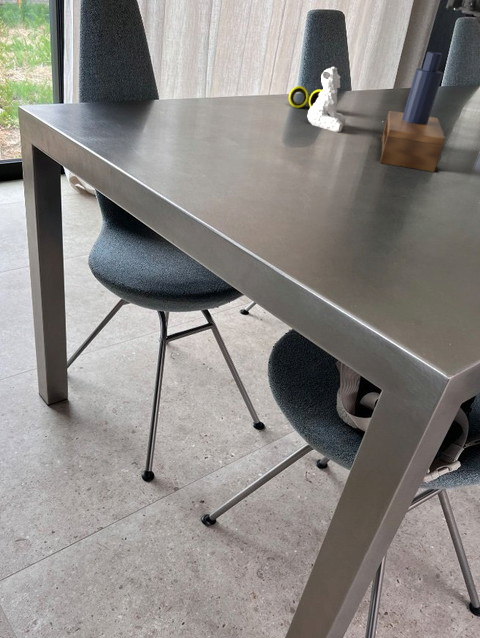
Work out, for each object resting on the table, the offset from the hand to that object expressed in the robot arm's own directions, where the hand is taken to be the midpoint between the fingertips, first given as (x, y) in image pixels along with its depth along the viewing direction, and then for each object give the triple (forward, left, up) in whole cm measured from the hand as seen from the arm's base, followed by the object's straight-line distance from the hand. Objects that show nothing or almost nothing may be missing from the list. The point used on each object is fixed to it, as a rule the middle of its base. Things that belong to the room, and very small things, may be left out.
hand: (473, 4), depth 108 cm
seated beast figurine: (+23, -3, -26) cm, 35 cm away
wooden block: (+5, +12, -26) cm, 29 cm away
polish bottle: (+5, +10, -20) cm, 23 cm away
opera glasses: (+29, -21, -26) cm, 44 cm away
